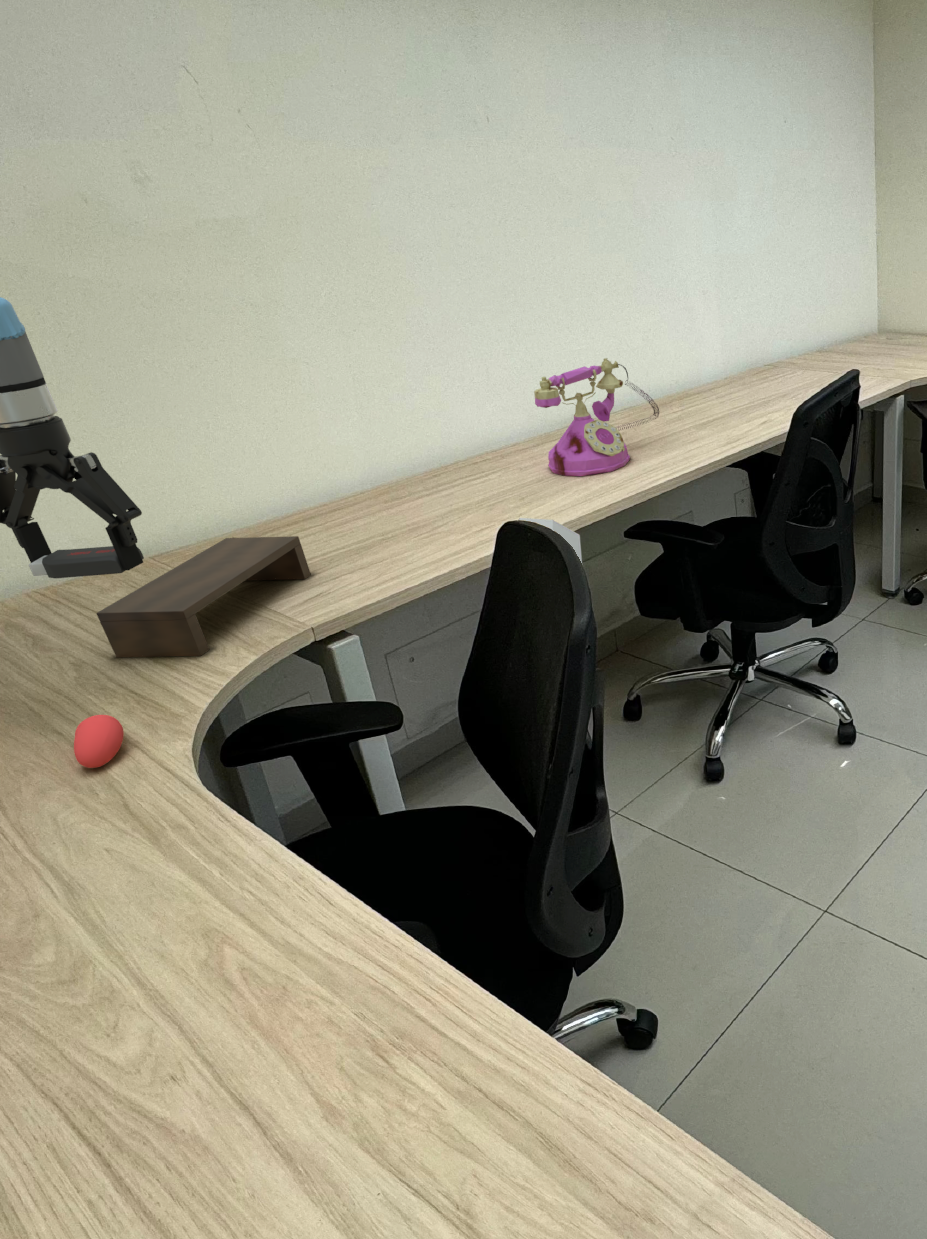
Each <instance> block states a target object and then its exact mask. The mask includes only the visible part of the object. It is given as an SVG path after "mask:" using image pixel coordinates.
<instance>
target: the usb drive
mask: <svg viewBox="0 0 927 1239" xmlns="http://www.w3.org/2000/svg"><path fill="white" fill-rule="evenodd" d="M137 548H138V550H139V553H140V555H141V558H142V560H144V559H145V557H144V555H143V552H142V550H141V548H140V547H138V546H137ZM28 567H29V569H30V572H31V574H32V575H33V577H39V576H47V577H48V578H49V579H67V578H81V577H91V576H105V575H117V574H123V573H124V572H126V571H127V570H123V568H122V566H121V563H120V561H119V559H118V556H117V554H116V552H115V550H114V547H113V545H108V546H95V547H85V548H84V547H83V548H72V549H56V550H55V551H52V552H51V554H50V555H47V556H43V557H41V558H39V559H38V560H36V561H34V562H32V563H31V562H30V563H29V564H28Z"/></svg>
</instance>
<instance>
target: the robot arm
mask: <svg viewBox="0 0 927 1239" xmlns="http://www.w3.org/2000/svg"><path fill="white" fill-rule="evenodd" d="M17 314H18V313H17V312H16V311H15V308H14V307H13V304H12V302H10V301H9V300H8V299H6V298H4V297H1V296H0V524H3V525H5V526H6V527H7V528H9V529H11V531H12V533H13V535H14V537H15V539H16V541H17V543H18V545H19V547H21V549H24V551H25V554H26V556H27V558H28V560H29V562H30V563H32V562H34V561H36V560H38V559H39V558H41V557H43V556H47V555H50V554H51V553H52V551H51V549H50V546H49V544H48V542H47V540H46V538H45V535H44V533H43V531H42V529H41V527H40V525H39V522H38V521H33V520H35V517H33V516H32V515H33V512H34V510H35V506H36V504H37V501H38V498H39V495H40V492H41V490H44V489H50V490H61V491H62V492H64V493H67V494H71V496H73V497H74V498H76V499H77V500H78V501H79V502H81V503H82V504H83V505H84V506H86V507H87V508H88V509H89V510H91V511H92V512H94V513H95V514H96V515H97V516H98V517H100V518H101V519H102V520H103V521H105V522H106V523H107V524H108V525H107V526H106V527H105V531H106V533H107V536H108V538H109V540H110V543H111V546H113V547H114V550H115V552H116V554H117V556H118V559H119V561H120V563H121V566H122V568H123V570H126V571H130V570H132V569H134V568H136V567H138V566H139V565H142V564H144V559H142V558H141V555H140V553H139V550H138V548H139V547H138V546H137V543H138V538H137V535H136V533H135V530H134V528H133V525H132V523H131V522H132V520H134V519H136V518H138V517H141V516H142V515H143V512H142V510H141V508H139V506H137V503H135V502H134V501H133V500H132V499H131V497H130V496H129V495H128V494H127V493H126V492H125V491H124V490H123V489H122V488H121V486H120V485H119V484H118V483H117V481H115V479H114V478H113V477H112V476H111V475H110V474H109V473H108V471H107V470H106V469H105V468H104V467H103V465H102V463H101V460H100V458H99V457H98V455H97V454H96V453H95V452H91V451H90V452H87V453H85V454H81V455H76V456H75V455H74V454H73V453H72V452H71V450H70V449H69V446H70V443H71V441H72V439H71V436H70V434H69V432H68V429H67V427H66V424H65V422H64V420H63V418H62V417H60V416H58V415H56V414H57V413H58V411H59V410H58V406H57V404H56V402H55V399H54V398H53V395H52V393H51V391H50V388H49V386H48V384H47V382H46V379H45V376H44V373H43V371H42V369H41V366H40V364H39V362H38V359H37V356H36V354H35V352H34V349H33V347H32V344H31V342H30V340H29V338H28V334H27V332H26V328H25V326H24V324H23V323H22V322H21V321H20V318H19V317H18V315H17ZM16 475H17V476H16ZM137 547H138V548H137Z"/></svg>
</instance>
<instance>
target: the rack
mask: <svg viewBox="0 0 927 1239" xmlns="http://www.w3.org/2000/svg"><path fill="white" fill-rule="evenodd" d="M310 576H311V570H310V568H309V564H308V561H307V558H306V555H305V552H304V549H303V546H302V542H301V539H300V537H299V536H298V535H296V536H295V535H294V536H293V535H292V536H291V535H290V536H257V537H256V536H253V537H252V536H251V537H226V538H224V539H222V540H220V541H218V542H217V543H215V544H213V545H212V546H210V547H208V548H206V549H205V550H203V551H201V552H199V553H198V554H196V555H194V556H192V557H191V558H189V559H187V560H186V561H184V562H182V563H180V564H179V565H177V566H175V567H174V568H172V569H170V570H168V571H167V572H165V573H162V575H160V576H158V577H156V578H154V579H152V580H151V581H149V582H147V583H146V584H144V585H143V586H141V587H139V588H137V589H135V590H134V591H132V592H130V593H128V594H127V595H125V596H123V597H121V598H120V599H118V600H117V601H115V602H113V603H111V604H109V605H108V606H106V607H105V608H103V609H101V610H99V611H97V612H96V616H97V618H98V620H99V623H100V625H101V628H102V629H103V631H104V634H105V635H106V638H107V640H108V642H109V644H110V645H109V646H110V647H111V649H112V651H113V653H114V656H115V658H151V657H152V658H158V657H201V656H203V655H204V654H206V653H207V652H208V651H210V647H209V644H208V642H207V640H206V636H205V635H204V631H203V629H202V627H201V624H200V622H199V619H198V616H197V615H196V614H197V613H199V612H200V611H202V610H203V609H204V608H206V607H208V606H209V605H211V604H212V603H214V602H215V601H217V600H218V599H219V598H221V597H222V596H224V595H225V594H227V593H228V592H230V591H232V590H233V589H235V588H236V587H237V586H239V585H241V584H242V583H243V582H246V581H282V580H283V581H285V580H306V579H307V578H309V577H310Z"/></svg>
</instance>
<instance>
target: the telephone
mask: <svg viewBox="0 0 927 1239" xmlns="http://www.w3.org/2000/svg"><path fill="white" fill-rule="evenodd" d="M619 367H622V368H623V369H624V370H625V372H626V377H627V379H626V380H625V382H624V381H623V380H622V379H618V377H617V376H615V375H614V374H613V370H614V369H618V368H619ZM602 373H603V374H604V375H603V376H602V377H601V379H600V380H599V381H598V382H597V384H596V380H597V376H599V375H600V374H602ZM540 379H541V380H540V381H539V386H540V388H536V389H535V390H534V391H533V393H534V404H535V406H536V407H537V408H544V409H548V408H551V407H559V406H560V404H564V405H574V406H575V411H574V414H573V420H572V422H571V423H570V424H569V426H568V427H567V428H566V430H565V431H564V432H563V434H562V435H561V436H560V438H559V440H558V441H557V442H556V443H555V445H554V446H553V447H552V448H550V450H549V451H548V456H547V460H548V467H549V469H550V471H551V472H552V473H553V474H556V475H559V476H566V477H585V476H586V477H587V476H591V475H592V476H593V475H598V474H606V473H611V472H614V471H616V470H619V469H620V468H623V467H625V466H626V465H627V463H628V462H629V461H630V459H631V457H630V454H629V453H628V447H627V444H626V443H625V441H624V438H623V435H622V433H621V432H620V431H622V430H628V429H631V428H632V429H633V428H634V427H639V425H641V426H642V425H646V424H648V423H650V422H653V421H655V420H656V419H658V418H659V416H660V408H659V406H658V404H657V403H656V402H655V400H654V399H653V398H652V397H650V395H649V394H648V393H647V392H645V391H644V390H643V389H639V387H638V386H637V385H635V384H634V383H633V382H631V381H629V373H628V369H627V368H626V367H625V366H624V365H622V364H620V363H619V362H618V361H617V360H615V361H614V362H613V363H612V361H611V360H609V359H608V358H607V357H605V358H603V361H602V362H601V365H590V367H587V366H581V367H579V368H575V369H572V370H569V371H565V372H562V373H561V374H560V375H556V374H554V375H553V376H550V377H549V378H547V376H541V378H540ZM584 380H588V382H589V385H590V387H591V391H589V392H586V393H581V392H576V393H575V395H574V396H573V397H569V398H566V396H565V394H566V391H565V389H566V386H568V385H571V384H574V383H577V382H581V381H584ZM561 385H562V386H561ZM624 385H625V386H626V387H629V388H632V390H633V391H634V392H636V393H637V394H638V395H640V396H641V397H642V398H643V399H644V400H647V402H648V404H649V405H650V406H651V408H652V410H653V414H651V415H650V417H645V418H641V419H639V420H635V421H632V422H627V424H626V423H623V427H622V424H621V425H617V427H616V426H614V425H613V424H611V423H609V421H610V417H611V412H612V410H613V408H614V407H615V391H616V389H619V388H622V387H623V386H624ZM595 388H597V389H600V390H605V391H606V393H607V394H606V397H605V398H604V399H603V400H602V401H600V400H596V401H594V402H592V405H591V409H592V411H593V414H594V416H595V417H596V418H597V419H594V418H593V417H592V415H591V413H589V411H588V408H587V406H586V404H585V402H586V401H587V400H589V399H590V398H592V397H594V396H595V394H596V393H597V392H595ZM589 395H590V396H589ZM587 396H589V397H587ZM584 397H586V398H585V400H584V402H583V399H584ZM562 400H563V401H564V402H562ZM573 400H576V404H575V403H574V402H570V403H565V402H568V401H573ZM632 424H633V425H632Z"/></svg>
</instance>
